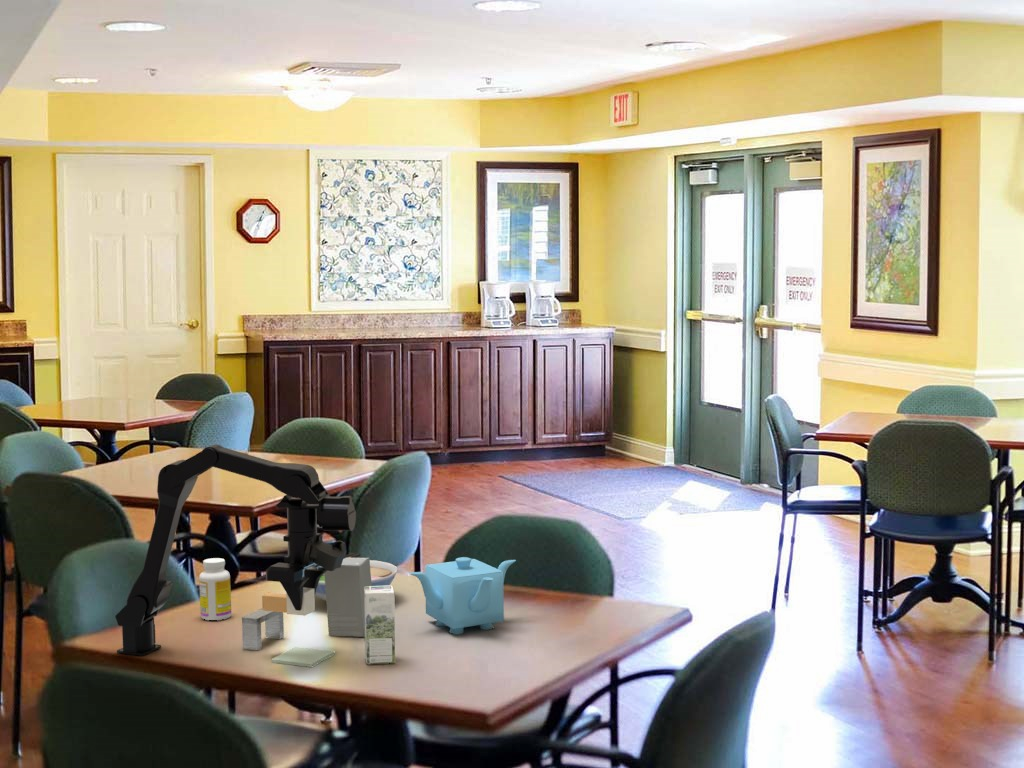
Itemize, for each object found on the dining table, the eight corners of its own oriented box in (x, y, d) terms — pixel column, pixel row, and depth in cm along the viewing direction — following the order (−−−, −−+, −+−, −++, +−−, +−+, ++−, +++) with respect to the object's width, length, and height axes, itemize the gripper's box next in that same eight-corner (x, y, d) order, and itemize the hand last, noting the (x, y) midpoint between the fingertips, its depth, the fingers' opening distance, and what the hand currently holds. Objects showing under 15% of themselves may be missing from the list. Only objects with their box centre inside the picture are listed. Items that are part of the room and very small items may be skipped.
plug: (304, 615, 271) (304, 593, 270) (260, 611, 274) (259, 589, 274) (314, 610, 274) (314, 588, 274) (270, 606, 278) (270, 584, 278)
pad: (311, 667, 267) (311, 664, 267) (271, 662, 270) (271, 659, 270) (334, 654, 275) (334, 651, 275) (295, 649, 278) (295, 646, 278)
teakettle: (439, 612, 306) (437, 547, 305) (520, 617, 301) (519, 551, 299) (408, 635, 288) (406, 566, 287) (493, 641, 283) (492, 571, 281)
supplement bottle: (235, 613, 307) (233, 557, 306) (226, 621, 300) (224, 563, 299) (206, 613, 307) (204, 556, 306) (196, 621, 301) (194, 563, 300)
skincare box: (375, 630, 292) (373, 556, 291) (362, 639, 286) (360, 564, 284) (337, 627, 295) (336, 554, 293) (324, 636, 288) (322, 562, 286)
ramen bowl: (356, 621, 300) (355, 584, 299) (274, 608, 311) (273, 572, 310) (420, 595, 321) (420, 561, 320) (341, 584, 333) (340, 551, 332)
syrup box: (394, 655, 274) (392, 583, 273) (395, 664, 268) (394, 591, 267) (365, 657, 273) (363, 585, 272) (366, 665, 267) (364, 592, 266)
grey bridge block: (257, 650, 278) (256, 618, 278) (242, 648, 280) (241, 617, 279) (283, 637, 288) (283, 606, 287) (269, 635, 289) (268, 605, 288)
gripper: (314, 542, 260) (316, 623, 261) (360, 523, 277) (362, 599, 279) (263, 538, 264) (265, 618, 265) (311, 520, 281) (313, 595, 283)
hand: (303, 607), depth 273 cm, fingers closed on plug, 4 cm apart
